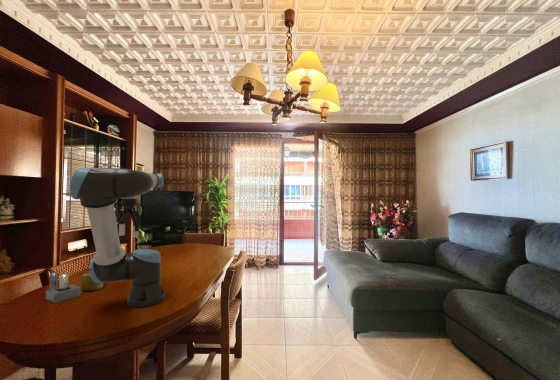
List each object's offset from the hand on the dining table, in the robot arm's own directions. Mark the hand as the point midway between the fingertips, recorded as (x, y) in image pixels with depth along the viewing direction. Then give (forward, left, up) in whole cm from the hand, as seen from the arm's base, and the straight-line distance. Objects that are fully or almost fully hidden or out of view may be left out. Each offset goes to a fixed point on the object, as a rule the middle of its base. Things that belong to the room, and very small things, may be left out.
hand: (128, 236), depth 136 cm
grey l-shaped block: (+14, +25, -27) cm, 39 cm away
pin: (+10, +25, -27) cm, 38 cm away
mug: (+11, +11, -27) cm, 31 cm away
